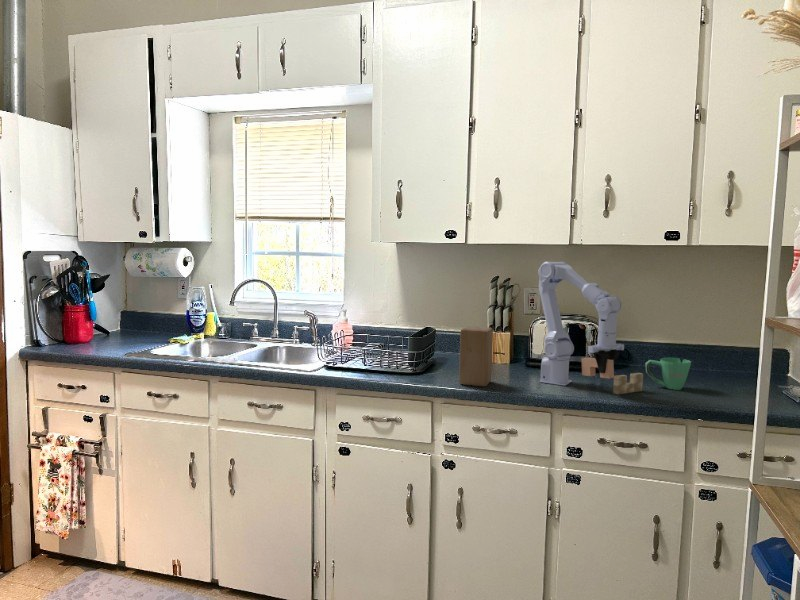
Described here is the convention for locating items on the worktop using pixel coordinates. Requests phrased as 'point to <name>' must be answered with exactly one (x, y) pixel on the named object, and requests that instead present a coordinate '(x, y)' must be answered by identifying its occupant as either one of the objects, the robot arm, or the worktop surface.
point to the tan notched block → (632, 386)
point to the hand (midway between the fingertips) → (605, 372)
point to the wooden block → (475, 356)
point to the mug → (671, 372)
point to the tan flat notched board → (591, 363)
